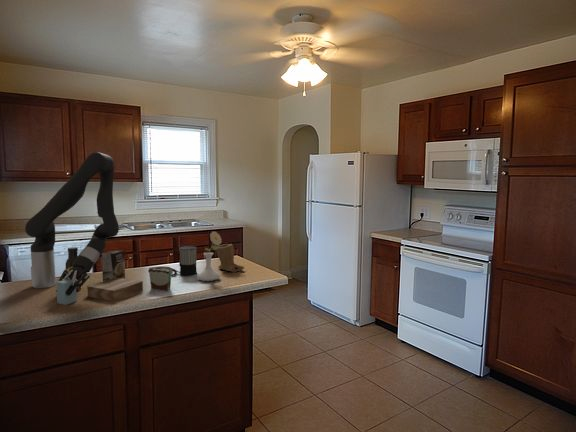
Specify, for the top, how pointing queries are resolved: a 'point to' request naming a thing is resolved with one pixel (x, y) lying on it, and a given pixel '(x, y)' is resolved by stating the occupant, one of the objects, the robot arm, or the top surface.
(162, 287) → the food container
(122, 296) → the walnut block
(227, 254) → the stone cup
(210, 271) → the flower in vase
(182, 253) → the milk frother
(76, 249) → the sauce bottle
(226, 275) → the top surface
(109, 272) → the coffee box
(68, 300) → the slate block
